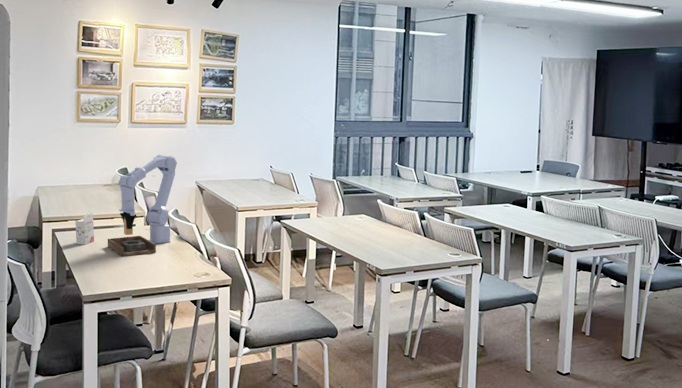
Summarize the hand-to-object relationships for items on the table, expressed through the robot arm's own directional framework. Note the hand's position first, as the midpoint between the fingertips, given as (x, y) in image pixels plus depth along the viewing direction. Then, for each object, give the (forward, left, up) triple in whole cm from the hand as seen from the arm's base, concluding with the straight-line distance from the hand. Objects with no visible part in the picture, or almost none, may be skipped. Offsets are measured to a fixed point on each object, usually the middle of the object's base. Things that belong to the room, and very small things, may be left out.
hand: (128, 228), depth 332 cm
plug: (0, 0, -3) cm, 3 cm away
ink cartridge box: (+15, -21, -10) cm, 28 cm away
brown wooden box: (0, +4, -10) cm, 11 cm away
